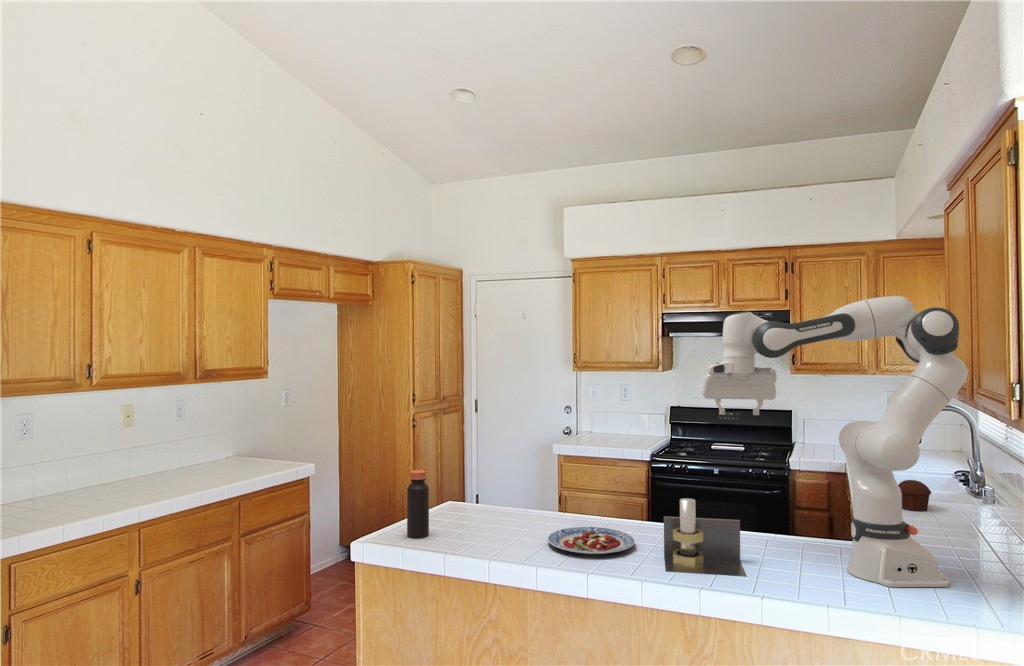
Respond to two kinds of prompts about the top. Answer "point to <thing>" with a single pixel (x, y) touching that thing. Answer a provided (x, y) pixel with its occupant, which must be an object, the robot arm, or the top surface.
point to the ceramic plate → (591, 540)
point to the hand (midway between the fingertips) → (739, 414)
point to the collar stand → (704, 547)
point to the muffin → (914, 495)
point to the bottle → (417, 505)
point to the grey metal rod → (687, 525)
